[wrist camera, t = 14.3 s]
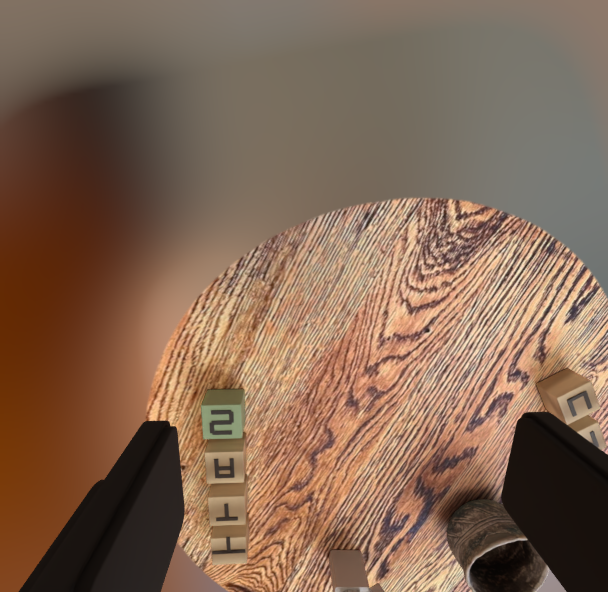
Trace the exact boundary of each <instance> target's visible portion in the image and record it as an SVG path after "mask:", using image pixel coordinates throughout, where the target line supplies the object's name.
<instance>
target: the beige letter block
mask: <svg viewBox="0 0 608 592" xmlns="http://www.w3.org/2000/svg"><path fill="white" fill-rule="evenodd" d="M248 548H249V513H247V516H246V524H245V525H223V526H213V530H212V534H211V552H212V565H225V564H244V563H247V557H248Z"/></svg>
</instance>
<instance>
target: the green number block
mask: <svg viewBox="0 0 608 592" xmlns="http://www.w3.org/2000/svg"><path fill="white" fill-rule="evenodd" d="M201 415H202V429H203V439H232V438H242V436H243V431H244V425H245V390H244V389H221V390H207V393H206V395H205V397H204V400H203V402H202V404H201Z"/></svg>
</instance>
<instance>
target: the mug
mask: <svg viewBox="0 0 608 592" xmlns="http://www.w3.org/2000/svg"><path fill="white" fill-rule="evenodd" d="M447 541H448V544H449V547H450V549H451V551H452V553H453V555H454V556H455V558H456V560H457V561H458V563H459V564H460V566H461V567H462V569H463V571H464V575H465V580H466V582H467V584H468V586H469V588H470V589H471V590H472V591H473V592H537V591H538V590H539V589H540V587H541V586H542V585H543V584H544V582H545V580H546V578H547V575H548V573H549V570H550V569H549V567H548V566H547V565H546V563H545V562H544V561H543V559H542V558H541V557H540V555H539V554H538V553H537V551H536V550H535V549H534V547H533V546H532V545H531V543H530V542H529V541H528V539H527V538H526V537H525V535H524V534H523V533H522V531H521V530H520V529H519V527H518V526H517V525H516V523H515V522H514V521H513V519H512V518H511V517H510V516H509V514H508V513H507V511H506V510H505V508H504V506H503V504H500V503H498V502H495V501H492V500H487V499H480V500H473V501H470V502H467V503H466V504H464V505H462V506H461V507H460V508H459V509H458V510H457V511H456V512H455V513H454V514H453V515H452V517H451V519H450V522H449V524H448V527H447Z"/></svg>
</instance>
